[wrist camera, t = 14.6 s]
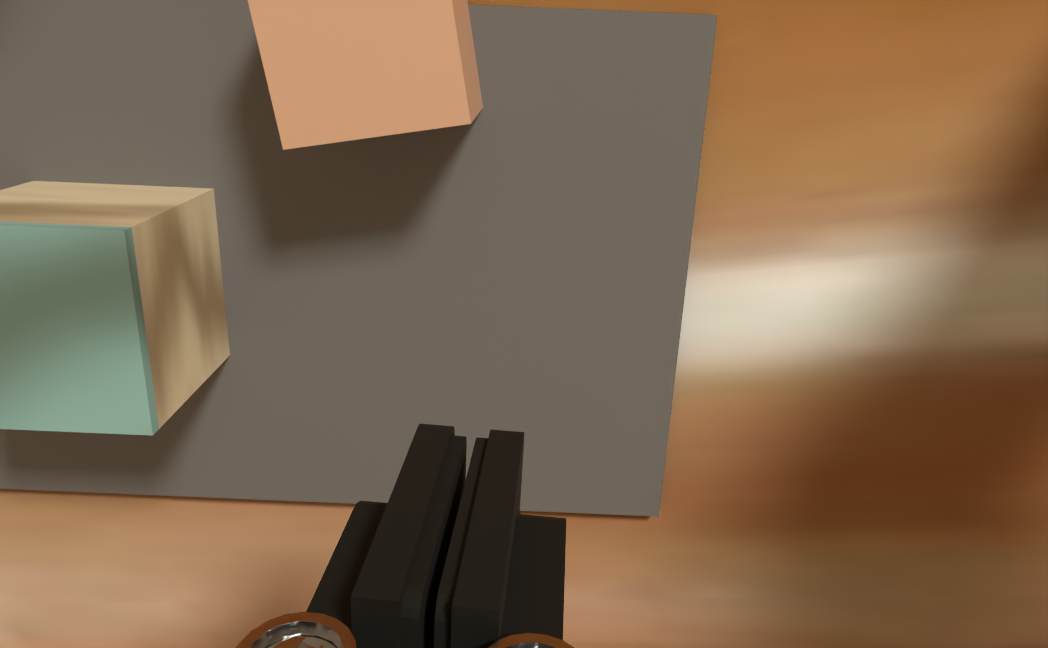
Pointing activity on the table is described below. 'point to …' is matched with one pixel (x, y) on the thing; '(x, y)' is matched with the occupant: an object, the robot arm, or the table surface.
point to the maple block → (107, 305)
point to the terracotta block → (366, 67)
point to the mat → (389, 250)
